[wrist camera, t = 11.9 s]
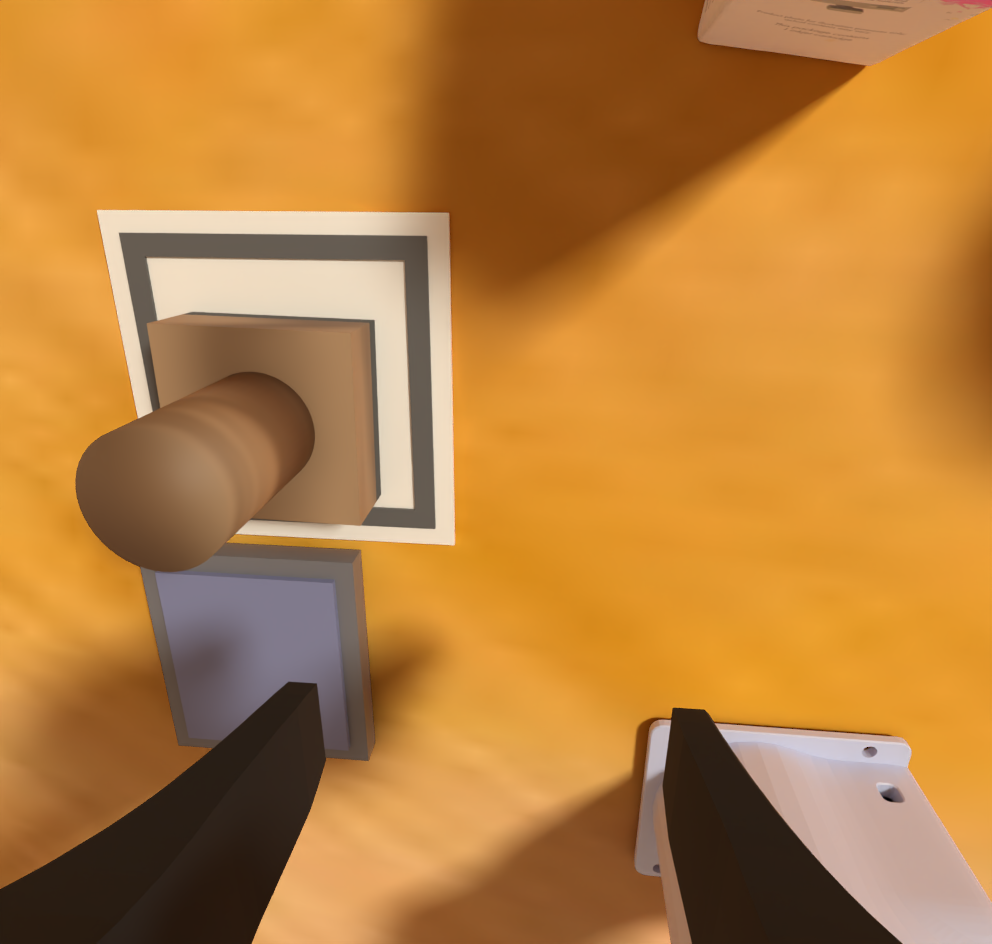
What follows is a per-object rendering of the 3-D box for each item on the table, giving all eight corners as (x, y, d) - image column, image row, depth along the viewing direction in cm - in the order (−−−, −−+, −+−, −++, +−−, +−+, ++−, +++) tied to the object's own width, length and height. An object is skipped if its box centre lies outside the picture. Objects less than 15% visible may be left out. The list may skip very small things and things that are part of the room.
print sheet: (449, 212, 20) (447, 212, 19) (455, 542, 24) (453, 546, 23) (100, 209, 20) (94, 209, 20) (163, 527, 24) (158, 531, 24)
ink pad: (360, 549, 24) (350, 566, 23) (375, 742, 27) (366, 765, 26) (153, 538, 25) (132, 554, 24) (191, 727, 28) (175, 750, 27)
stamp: (374, 319, 21) (268, 378, 13) (381, 494, 23) (293, 627, 15) (192, 311, 21) (-8, 363, 14) (215, 483, 23) (53, 607, 16)
